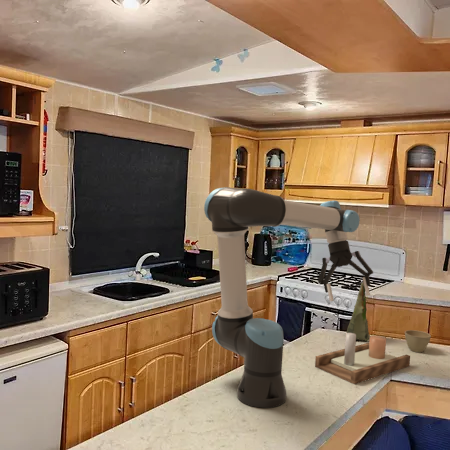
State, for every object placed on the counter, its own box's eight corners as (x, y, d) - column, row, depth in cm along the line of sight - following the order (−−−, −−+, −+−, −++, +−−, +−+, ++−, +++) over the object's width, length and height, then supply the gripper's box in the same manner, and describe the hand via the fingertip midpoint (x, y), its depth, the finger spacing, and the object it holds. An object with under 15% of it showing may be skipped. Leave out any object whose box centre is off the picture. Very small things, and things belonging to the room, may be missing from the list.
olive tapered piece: (359, 333, 218) (362, 279, 216) (377, 341, 207) (381, 285, 205) (339, 335, 214) (342, 280, 212) (356, 344, 203) (360, 286, 201)
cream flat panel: (360, 374, 166) (362, 340, 165) (330, 362, 176) (332, 330, 176) (401, 361, 180) (403, 330, 179) (371, 351, 191) (373, 321, 190)
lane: (354, 384, 160) (355, 372, 160) (315, 366, 175) (315, 356, 174) (409, 366, 179) (410, 355, 179) (369, 351, 194) (370, 342, 193)
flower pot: (425, 356, 191) (427, 339, 190) (400, 350, 197) (401, 333, 196) (432, 350, 199) (433, 333, 198) (407, 344, 205) (408, 328, 204)
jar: (367, 357, 180) (368, 339, 179) (369, 352, 185) (370, 334, 185) (384, 360, 178) (385, 341, 177) (385, 355, 183) (386, 337, 183)
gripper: (372, 235, 177) (385, 291, 173) (309, 248, 188) (320, 302, 184) (369, 234, 170) (382, 293, 167) (303, 248, 181) (314, 304, 177)
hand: (349, 298), depth 175 cm, fingers open, 13 cm apart
